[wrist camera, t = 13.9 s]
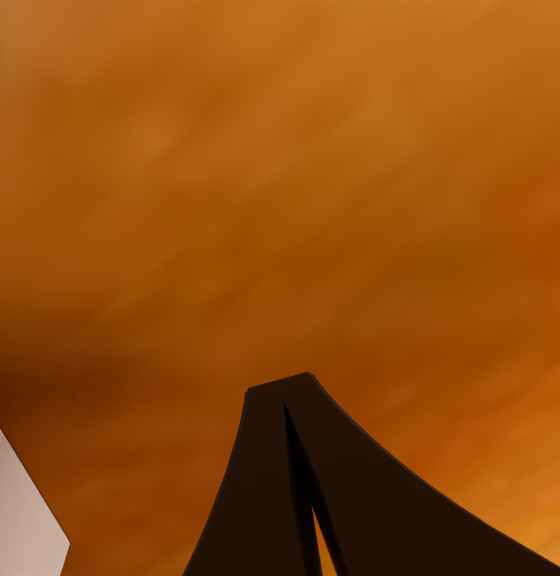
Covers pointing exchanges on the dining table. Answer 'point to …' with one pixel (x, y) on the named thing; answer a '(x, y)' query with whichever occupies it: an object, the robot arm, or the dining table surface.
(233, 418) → the dining table surface
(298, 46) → the dining table surface
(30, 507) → the tray
